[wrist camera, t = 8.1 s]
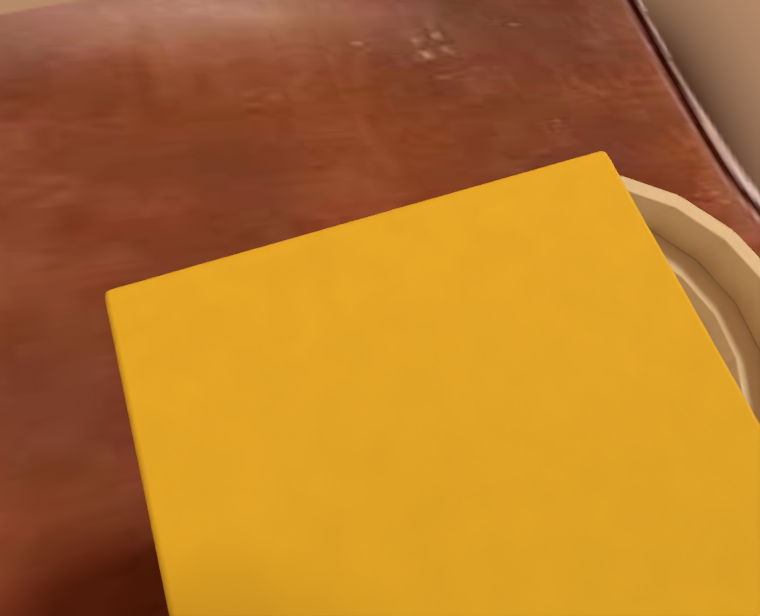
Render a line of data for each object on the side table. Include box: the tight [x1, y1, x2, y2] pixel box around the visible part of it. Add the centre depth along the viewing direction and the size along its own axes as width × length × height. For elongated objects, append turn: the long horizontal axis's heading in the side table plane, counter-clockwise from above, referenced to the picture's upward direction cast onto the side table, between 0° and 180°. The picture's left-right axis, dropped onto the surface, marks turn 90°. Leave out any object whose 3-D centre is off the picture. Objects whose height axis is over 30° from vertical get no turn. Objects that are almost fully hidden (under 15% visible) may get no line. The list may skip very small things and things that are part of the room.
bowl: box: [620, 176, 760, 424], centre depth 21 cm, size 14×14×4 cm
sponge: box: [105, 151, 760, 616], centre depth 9 cm, size 7×4×12 cm, turn 19°
